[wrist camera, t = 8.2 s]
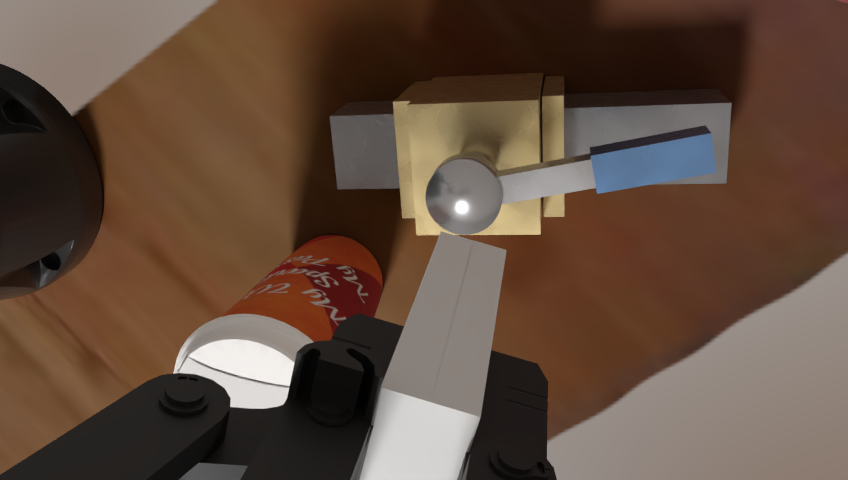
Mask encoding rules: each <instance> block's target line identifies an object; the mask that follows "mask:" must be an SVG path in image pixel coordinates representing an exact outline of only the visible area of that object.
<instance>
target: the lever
mask: <svg viewBox="0 0 848 480" xmlns="http://www.w3.org/2000/svg"><path fill="white" fill-rule="evenodd" d="M712 173H716V166H715V158H714V150H713V142H712V134H711V132H710V131H709V129H708V128H707V127H706V125H704V126H699V127H694V128H689V129H683V130H678V131H673V132H668V133H662V134H657V135H652V136H647V137H641V138H636V139H631V140H626V141H621V142H615V143H610V144H605V145H600V146H594V147H590V153H589V154H584V155H579V156H573V157H568V158H563V159H557V160H552V161H547V162H542V163H536V164H531V165H526V166H520V167H515V168H510V169H505V170H499V171H498V169H497V168H496V166H495V165H494V164H493V163H492V162H490V161H489V160H488V159H486V158H484V157H482V156H480V155H476V154H471V153H461V154H456V155H453V156H451V157H449V158H447V159H446V160H444V161H443V162H442V163H441V164H440V165H439V166H438V167H437V169H436V170H435V172H434V174H433V175H432V177H431V179H430V181H429V183H428V185H427V189H426V195H425V197H426V206H427V209H428V211H429V213H430V215H431V217H432V218H433V220H434V221H435V222H436V223H437V224H438V225H439V226H440V227H442V228H443V229H445V230H447V231H449V232H451V233H455V234H460V235H470V234H475V233H478V232H481V231H483V230H485V229H486V228H488V227H489V226H490V225H491V224H492V223H493V222H494V221H495V219H496V218H497V216H498V214H499V212H500V209H501V205H502V204H508V203H513V202H519V201H524V200H530V199H536V198H541V197H547V196H552V195H558V194H564V193H569V192H575V191H580V190H586V189H592V188H596V189H597V194H599V193H604V192H610V191H616V190H621V189H627V188H633V187H638V186H644V185H650V184H655V183H661V182H666V181H672V180H678V179H683V178H689V177H695V176H700V175H706V174H712Z"/></svg>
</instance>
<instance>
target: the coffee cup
mask: <svg viewBox="0 0 848 480" xmlns="http://www.w3.org/2000/svg"><path fill="white" fill-rule="evenodd" d="M382 287H383V280H382V273H381V270H380V267H379V265H378V263H377V261H376V259H375V258H374V256H373V255H372V254H371V252H370V251H369V250H368V249H367V248H366V247H364V246H363V245H362V244H360V243H359V242H357V241H355V240H353V239H351V238H348V237H345V236H340V235H324V236H320V237H317V238H314V239H312V240H310V241H308V242H307V243H305V244H304V245H302V246H301V247H300V248H299V249H297V250H296V251H295V252H294V253H292V254H291V255H290V256H289V257H288V258H287V259H286V260H284V261H283V262H282V263H281V264H280V265H279V266H278V267H276V268H275V269H274V270H273V271H272V272H271V273H270V274H269V275H267V276H266V277H265V278H264V279H263V280H262V281H261V282H260V283H258V284H257V285H256V286H255V287H254V288H253V289H252V290H251V291H250V292H248V293H247V294H246V295H245V296H244V297H243V298H242V299H241V300H240V301H239V302H237V303H236V304H235V305H234V306H233V307H232V308H231V309H230V310H229V311H227V312H226V313H225V314H224V315H223V316H222V317H219V318H216V319H214V320H212V321H209V322H207V323H205V324H204V325H202V326H201V327H200V328H198V329H197V330H196V331H195V332H194V333H193V334H192V335H191V336H190V337H189V338H188V339H187V340H186V342H185V343H184V345H183V346H182V348H181V350H180V352H179V354H178V357H177V360H176V365H175V369H174V373H186V374H197V375H200V376H203V377H206V378H209V379H212V380H214V381H215V382H216V383H218V384H219V385H221V386H222V387H224V388H225V390H226V391H227V393H228V395H229V396H230V398H231V400H230V407H238V408H250V409H265V408H272V407H278V406H281V405H284V403H285V401H286V399H287V396H288V392H289V387H290V382H291V377H292V372H293V368H294V363H295V358H296V353H297V351H299V350H300V349H301V348H302V347H303V346H304V345H306V344H309V343H313V342H316V341H329V340H331V339H332V336H333V334H334V332H335V331H336V329H337V327H338V325H339V323H340V322H341V321H343V320H345V319H347V318H349V317H351V316H353V315H354V314H356V313H360V314H363V315H366V316H370V317H373V318H374V316H375V313H376V310H377V307H378V304H379V301H380V297H381V294H382ZM174 373H173V374H174Z"/></svg>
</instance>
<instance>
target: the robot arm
mask: <svg viewBox="0 0 848 480" xmlns="http://www.w3.org/2000/svg"><path fill="white" fill-rule="evenodd" d="M101 215H102V187H101V180H100V175H99V171H98V167H97V164H96V161H95V158H94V155H93V153H92V150H91V148H90V146H89V144H88V141H87V140H86V138H85V136H84V134H83V132H82V131H81V129H80V127H79V126H78V124H77V123H76V121H75V120H74V119H73V117H72V116H71V115H70V113H69V112H68V111H67V110H66V109H65V108H64V106H63V105H62V104H61V103H60V102H59V101H58V100H57V99H56V98H55V97H54V96H53V95H52V94H51V93H49V92H48V91H47V90H46V89H45V88H44V87H42V86H41V85H39V84H38V83H37V82H35V81H34V80H32V79H31V78H29V77H28V76H26V75H24V74H22V73H21V72H19V71H17V70H14V69H12V68H10V67H7V66H5V65H2V64H0V300H3V299H9V298H15V297H20V296H24V295H27V294H30V293H33V292H35V291H38V290H40V289H42V288H44V287H46V286H48V285H49V284H51V283H53V282H54V281H56V280H57V279H59V278H60V277H62V276H63V275H65V274H66V273H68V272H69V271H71V270H72V269H73V268H74V267H76V266H77V265H78V264H79V263H80V262H81V261H82V259H83V258H84V257H85V256H86V254H87V253H88V251H89V250H90V248H91V246H92V244H93V242H94V240H95V238H96V235H97V233H98V229H99V226H100V221H101ZM505 257H506V250H504V249H501V248H497V247H494V246H490V245H487V244H483V243H480V242H476V241H473V240H469V239H466V238H463V237H459V236H456V235H452V234H449V233H445V232H442V231H441V233H440V235H439V238H438V241H437V243H436V246H435V248H434V251H433V254H432V256H431V259H430V261H429V264H428V266H427V269H426V272H425V274H424V277H423V279H422V282H421V285H420V287H419V290H418V292H417V295H416V297H415V300H414V303H413V305H412V308H411V310H410V313H409V315H408V318H407V321H406V323H405V326H400V325H397V324H394V323H390V322H387V321H383V320H380V319H377V318H373V317H370V316H366V315H363V314H360V313H356V314H354V315H353V316H351V317H349V318H347V319H345V320H343V321H341V322H340V323H339V325H338V327H337V329H336V331H335V332H334V334H333V336H332V339H331V340H329V341H316V342H313V343H309V344H306V345H304V346H303V347H302V348H301V349H300V350H299V351H297V353H296V358H295V363H294V368H293V372H292V377H291V382H290V387H289V392H288V396H287V399H286V401H285V403H284V405H281V406H278V407H272V408H265V409H250V408H238V407H230V400H231V398H230V396H229V395H228V393H227V391H226V390H225V388H224V387H222V386H221V385H219V384H218V383H216V382H215V381H214V380H212V379H209V378H206V377H203V376H200V375H197V374H186V373H174V374H167V375H161V376H158V377H156V378H154V379H151V380H149V381H147V382H145V383H144V384H142V385H140V386H139V387H137V388H136V389H134V390H133V391H131V392H129V393H128V394H126V395H125V396H123V397H122V398H120V399H119V400H117V401H115V402H114V403H112V404H111V405H109V406H108V407H106V408H104V409H103V410H101V411H100V412H98V413H97V414H95V415H93V416H92V417H90V418H89V419H87V420H86V421H84V422H82V423H81V424H79V425H78V426H76V427H75V428H73V429H71V430H70V431H68V432H67V433H65V434H64V435H62V436H60V437H59V438H57V439H56V440H54V441H53V442H51V443H50V444H48V445H46V446H45V447H43V448H42V449H40V450H39V451H37V452H35V453H34V454H32V455H31V456H29V457H28V458H26V459H24V460H23V461H21V462H20V463H18V464H17V465H15V466H13V467H12V468H10V469H9V470H7V471H6V472H4V473H2V474H1V475H0V480H557V479H556V475H555V472H554V468H553V466H552V465H551V464H550V463H549V461H548V460H547V407H548V401H547V398H548V381H547V379H546V377H545V376H544V374H543V372H542V371H541V369H540V367H539V366H538V364H536V363H533V362H529V361H526V360H523V359H519V358H516V357H512V356H509V355H506V354H502V353H499V352H495V351H492V350H491V347H492V341H493V334H494V328H495V321H496V315H497V308H498V302H499V295H500V289H501V282H502V276H503V270H504V263H505Z"/></svg>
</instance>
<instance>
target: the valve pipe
mask: <svg viewBox="0 0 848 480" xmlns="http://www.w3.org/2000/svg"><path fill="white" fill-rule="evenodd" d="M731 105H732V103H731V102H730V101H729V100H728V99H727V98H726V97H725V96H724V95H723V94H722V93H721V92H720V91H719V90H718V89H717V88H716V89H689V90H661V91H634V92H606V93H579V94H564V75H563V76H545V82H544V73H521V74H497V75H473V76H449V77H434V78H433V79H432V80H431V81H416V82H414V83H413V84H412V85H411V86H409V87H408V88H407V89H406V90H405V91H404V92H403V93H402V94H401V95H400V96H399V97H397V98H396V99H395V100H387V101H359V102H348V103H347V104H346V105H344V106H343V107H341V108H340V109H339V110H337V111H336V112H335V113H333V114H332V115H331V116H330V125H331V134H332V143H333V152H334V161H335V171H336V180H337V189H393V188H400V197H401V209H402V218H415V220H416V233H417V235H440V233H441V231H442V232H445V233H449V234H452V235H460V234H455V233H451V232H449V231H447V230H445V229H443V228H442V227H440V226H439V225H438V224H437V223H436V222H435V221H434V220H433V218H432V217H431V215H430V213H429V211H428V209H427V206H426V197H425V195H426V189H427V185H428V183H429V181H430V179H431V177H432V175H433V174H434V172H435V170H436V169H437V167H438V166H439V165H440V164H441V163H442V162H443V161H444V160H446V159H447V158H449V157H451V156H453V155H456V154H461V153H471V154H476V155H480V156H482V157H484V158H486V159H488V160H489V161H490V162H492V163H493V164H494V165H495V166H496V168H497V169H498V171H499V170H505V169H510V168H515V167H520V166H526V165H531V164H536V163H542V162H547V161H552V160H557V159H563V158H568V157H573V156H579V155H584V154H589V153H590V147H594V146H600V145H605V144H610V143H615V142H621V141H626V140H631V139H636V138H641V137H647V136H652V135H657V134H662V133H668V132H673V131H678V130H683V129H689V128H694V127H699V126H704V125H706V127H707V128H708V129H709V131H710V132H711V134H712V142H713V150H714V158H715V166H716V173H712V174H706V175H700V176H695V177H689V178H683V179H678V180H672V181H666V182H661V183H655V184H710V183H726V179H727V164H728V149H729V134H730V120H731ZM543 204H544V217H564V207H565V193H564V194H558V195H552V196H547V197H541V198H536V199H530V200H524V201H519V202H513V203H508V204H502V205H501V209H500V212H499V214H498V216H497V218H496V219H495V221H494V222H493V223H492V224H491V225H490V226H489V227H488V228H486V229H485V230H483V231H481V232H478V233H475V234H470V235H537V234H541V226H542V215H543Z"/></svg>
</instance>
